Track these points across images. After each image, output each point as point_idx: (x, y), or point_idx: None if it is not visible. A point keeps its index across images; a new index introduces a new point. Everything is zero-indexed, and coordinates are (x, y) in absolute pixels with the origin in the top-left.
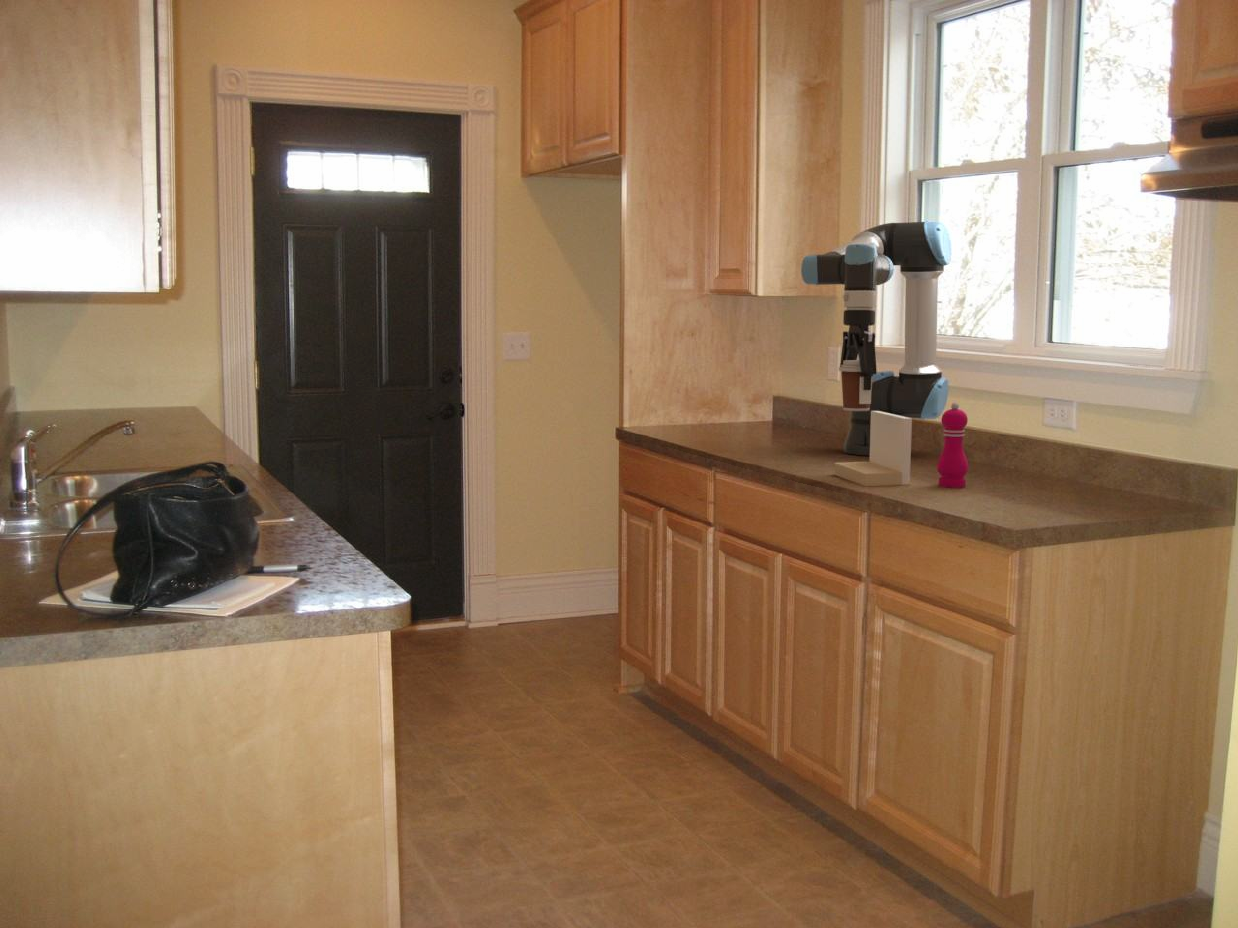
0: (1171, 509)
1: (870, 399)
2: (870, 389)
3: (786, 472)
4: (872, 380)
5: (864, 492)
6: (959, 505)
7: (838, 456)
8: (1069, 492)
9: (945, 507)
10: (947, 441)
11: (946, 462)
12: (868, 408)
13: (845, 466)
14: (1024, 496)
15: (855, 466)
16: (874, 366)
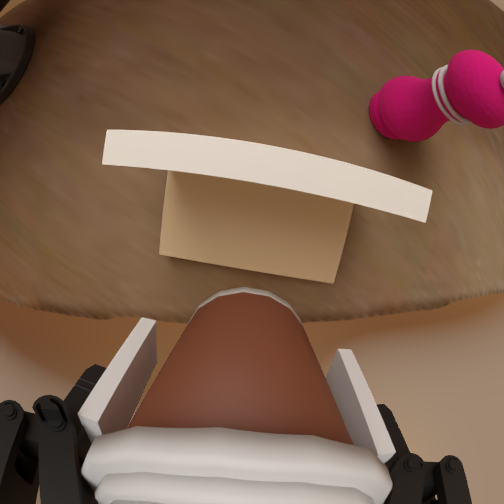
0: None
1: (356, 364)
2: (385, 407)
3: (119, 310)
4: (327, 404)
5: (375, 308)
6: (496, 244)
7: (6, 127)
8: (471, 35)
9: (493, 269)
10: (447, 119)
11: (429, 136)
12: (297, 318)
13: (218, 263)
14: None
15: (227, 242)
16: (460, 493)
